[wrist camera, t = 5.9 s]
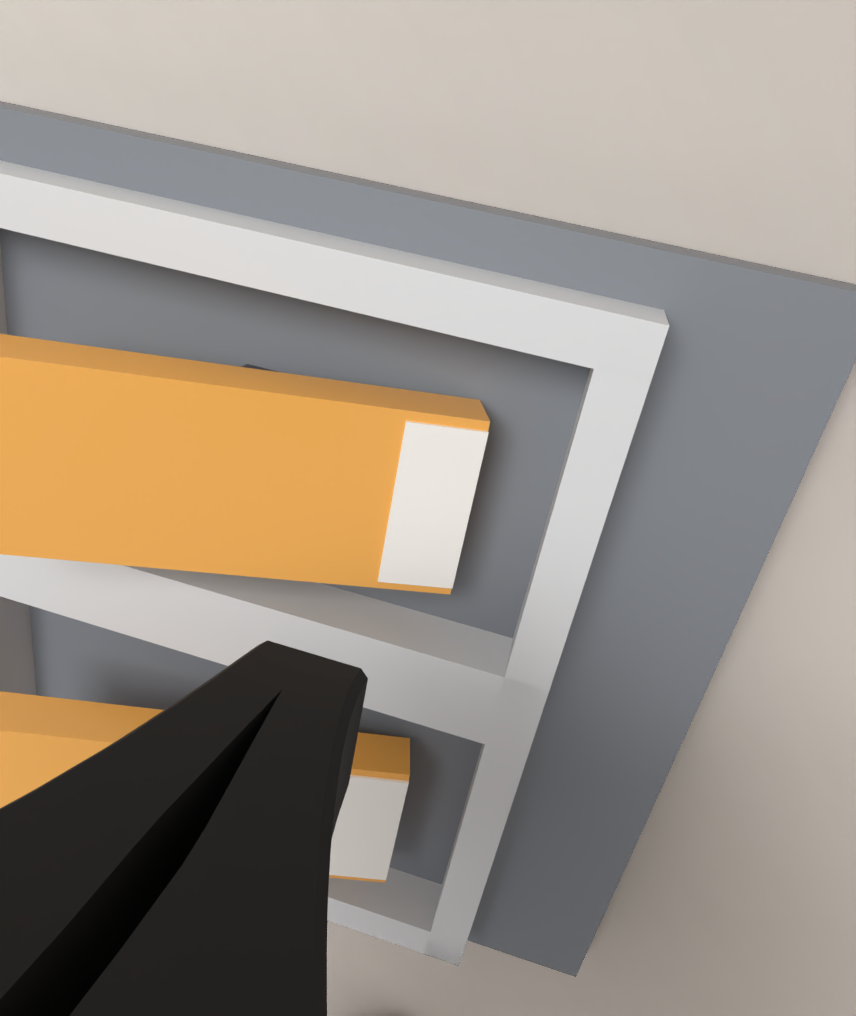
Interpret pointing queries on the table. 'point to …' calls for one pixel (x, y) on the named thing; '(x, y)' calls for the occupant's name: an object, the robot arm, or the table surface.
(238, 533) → the rocker switch
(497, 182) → the table surface
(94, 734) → the rocker switch
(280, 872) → the robot arm
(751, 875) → the table surface
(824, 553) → the table surface
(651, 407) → the switch panel
